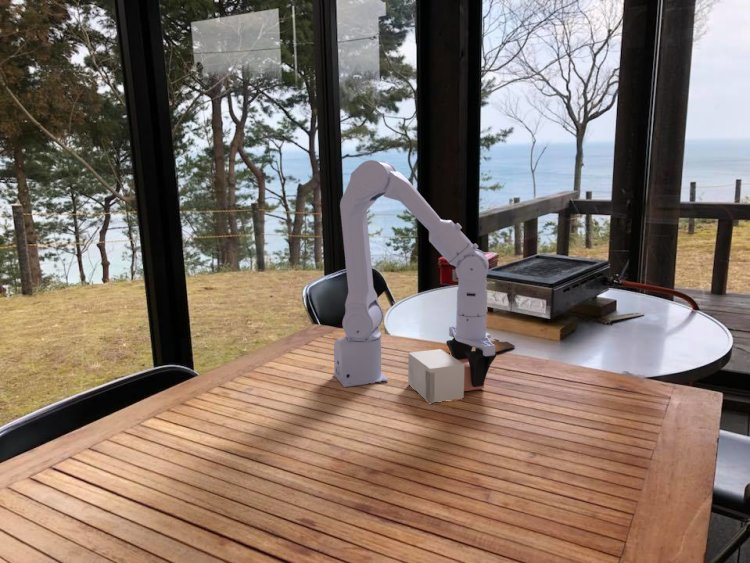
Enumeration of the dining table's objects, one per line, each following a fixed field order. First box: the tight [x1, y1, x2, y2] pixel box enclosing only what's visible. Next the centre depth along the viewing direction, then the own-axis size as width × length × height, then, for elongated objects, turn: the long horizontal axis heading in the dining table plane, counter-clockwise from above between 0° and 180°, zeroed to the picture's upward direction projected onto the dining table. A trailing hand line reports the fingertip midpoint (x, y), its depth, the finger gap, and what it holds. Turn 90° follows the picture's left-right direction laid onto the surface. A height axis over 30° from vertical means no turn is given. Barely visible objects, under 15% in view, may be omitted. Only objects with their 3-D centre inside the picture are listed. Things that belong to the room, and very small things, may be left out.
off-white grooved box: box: [407, 348, 465, 404], centre depth 106 cm, size 7×10×7 cm
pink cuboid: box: [458, 359, 485, 392], centre depth 108 cm, size 11×4×5 cm, turn 110°
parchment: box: [473, 338, 516, 353], centre depth 132 cm, size 25×10×1 cm, turn 122°
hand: (469, 380), depth 109 cm, fingers open, 6 cm apart
